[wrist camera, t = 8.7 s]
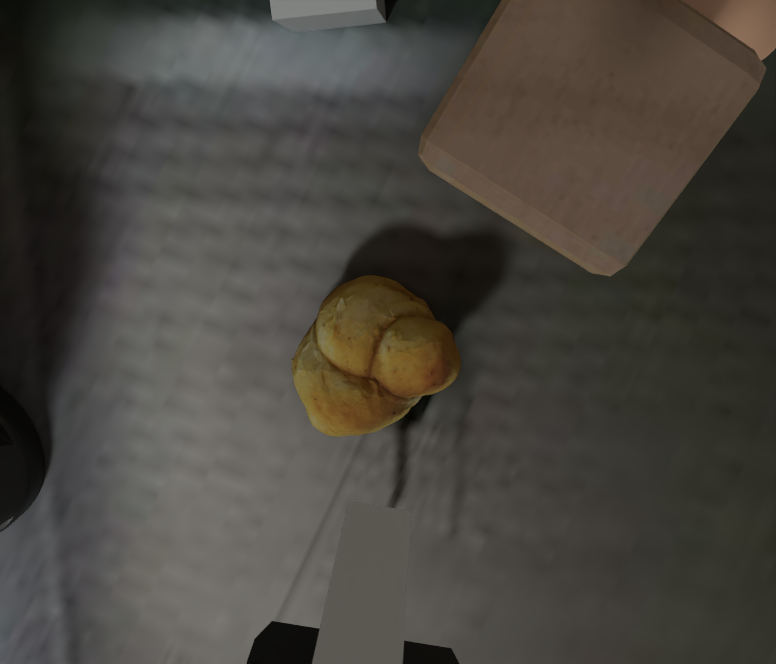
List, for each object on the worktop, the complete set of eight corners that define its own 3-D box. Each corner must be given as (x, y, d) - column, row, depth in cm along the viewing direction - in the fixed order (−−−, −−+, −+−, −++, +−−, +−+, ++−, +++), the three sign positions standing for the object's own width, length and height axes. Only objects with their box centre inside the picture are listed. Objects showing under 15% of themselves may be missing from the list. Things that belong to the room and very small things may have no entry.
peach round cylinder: (612, 70, 43) (642, 62, 36) (644, -52, 41) (682, -84, 34) (721, 90, 43) (771, 85, 36) (759, -31, 41) (820, -60, 34)
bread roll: (358, 445, 53) (342, 500, 45) (263, 364, 51) (230, 407, 44) (473, 331, 49) (477, 370, 42) (374, 241, 48) (360, 265, 40)
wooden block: (509, -1, 42) (557, -96, 23) (640, 86, 43) (789, 62, 24) (424, 140, 45) (406, 158, 26) (548, 219, 46) (617, 291, 27)
